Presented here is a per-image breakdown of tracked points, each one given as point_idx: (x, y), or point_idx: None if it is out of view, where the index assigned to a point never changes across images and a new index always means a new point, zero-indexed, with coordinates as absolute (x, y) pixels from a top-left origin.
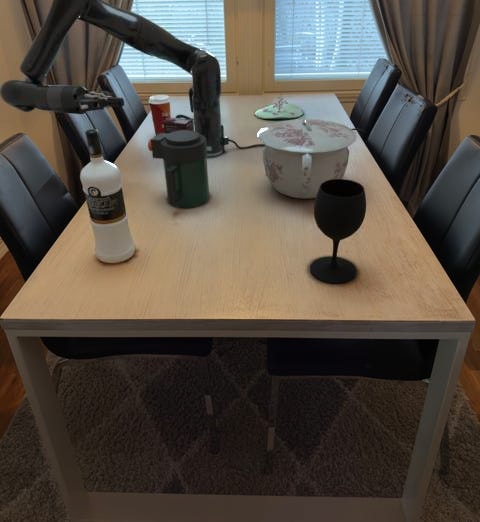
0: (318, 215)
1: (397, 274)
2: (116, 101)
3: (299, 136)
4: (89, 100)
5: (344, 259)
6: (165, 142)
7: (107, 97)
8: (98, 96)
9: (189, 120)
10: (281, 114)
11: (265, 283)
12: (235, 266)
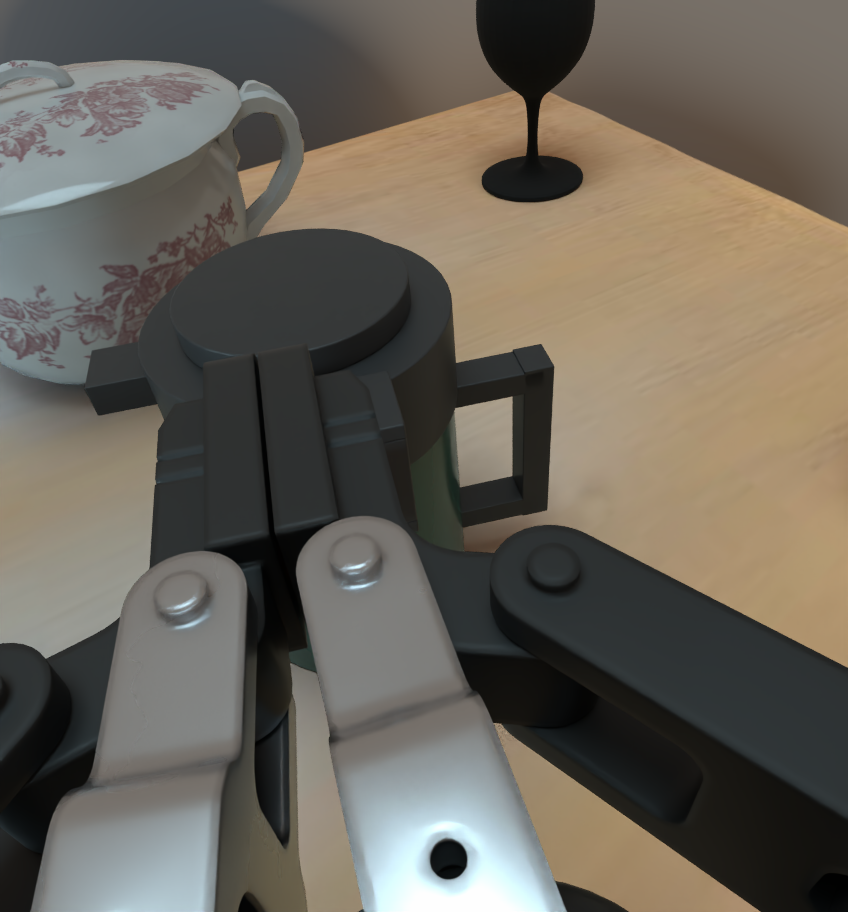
0: (589, 17)
1: (474, 136)
2: (365, 386)
3: (133, 88)
4: (839, 804)
5: (486, 174)
6: (385, 352)
7: (246, 617)
8: (443, 710)
9: None
10: None
11: (668, 221)
12: (663, 273)
